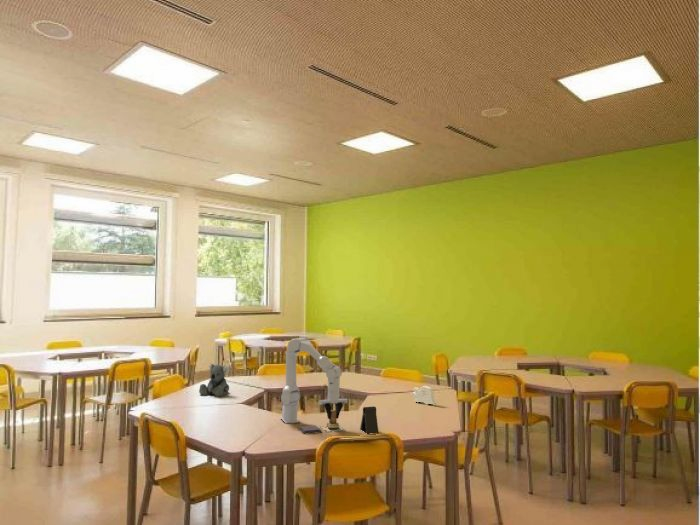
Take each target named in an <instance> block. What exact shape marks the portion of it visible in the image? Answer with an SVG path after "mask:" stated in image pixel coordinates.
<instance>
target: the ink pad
mask: <svg viewBox="0 0 700 525" xmlns="http://www.w3.org/2000/svg"><path fill="white" fill-rule="evenodd" d="M298 430H299V431H300V432H301V433H302V434H303V435H305V434H306V433H309V434H316V433H315V432H320V433H322V429H320V428H319V427H318V426H317V425H305V426H298ZM306 435H307V434H306Z"/></svg>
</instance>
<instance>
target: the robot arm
mask: <svg viewBox="0 0 700 525" xmlns="http://www.w3.org/2000/svg"><path fill="white" fill-rule="evenodd" d="M300 352H306V353H308V355H309V356H311V357H312V358H313V359H315V361H316V362H317V366H319V367H320V368H321V370H322V371H323V372H325V375H326V378H327V399H320V400H318V405H320V406H324V410H325V411H326V415H327V419H328V420H329V419H330V418H331V410H332V405H334V406H335V410H336V411H337V420H338V419H339V416H340V414H341V410H342V408H343V407H344V404H348V398H340V380H341V379H340V378H341V376H342V375H343V374H342V373H343V370H342V369H341V367H340V366H338V365H336V364H335V363H333V362H332V361H331V360H330V358H329V356H325V355H322V354H321V353H320V352H319V351H318V350H317V349H316V348H315V346H314V345H312V343H311V341H310V340H308V338H307V337H304V336H303V337H297V338H292V339H290V341H288V343H287V347H286V351H285V387H283V389H282V393H281V395H280V400H281V403H282V407H281V409H282V410H281V417H280V418H281V419H283V421H284V422H285V423H284V422H283V421H282V422H283V423H284V424H294V423H295V424H296V423H300V420H298V404H299V401H300V400H301V394H300V388H299V387H298V385H297V356H298V354H300ZM281 419H280V420H281Z"/></svg>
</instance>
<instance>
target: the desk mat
mask: <svg viewBox="0 0 700 525" xmlns="http://www.w3.org/2000/svg"><path fill="white" fill-rule="evenodd" d="M322 427H323V428H324V427H325V429H326V428H327V425H325V426H322ZM328 429H329V428H328ZM329 430H330V432H329V433H333V432H332V431H335V432H344V431H343V430H346V429H345V428H343V427H342V426H341V425H339V428H332V429H329ZM327 431H328V430H327V429H326V431H325V432H326V433H328V432H327Z"/></svg>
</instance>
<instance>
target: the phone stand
mask: <svg viewBox="0 0 700 525" xmlns="http://www.w3.org/2000/svg"><path fill="white" fill-rule="evenodd" d="M361 416H362V418H361V422H360V427H359V430H360V431H361V430H362V431H361V432H363V431H364V432H365V434H366V433H367V434H366V435H370V434H369V433H377V434H379V433H380V432H379V425H378V416H377V408H376V406H364V407H363V408H362V414H361ZM364 432H363V433H364Z"/></svg>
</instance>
